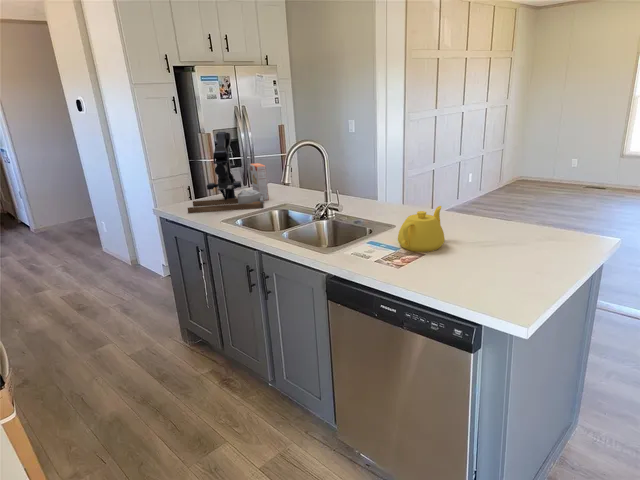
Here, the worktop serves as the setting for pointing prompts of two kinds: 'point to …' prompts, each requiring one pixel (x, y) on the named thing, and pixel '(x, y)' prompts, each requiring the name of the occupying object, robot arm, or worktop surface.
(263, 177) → the cracker box
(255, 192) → the lumpy-topped squat cylinder
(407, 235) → the teapot
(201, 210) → the guide rails
